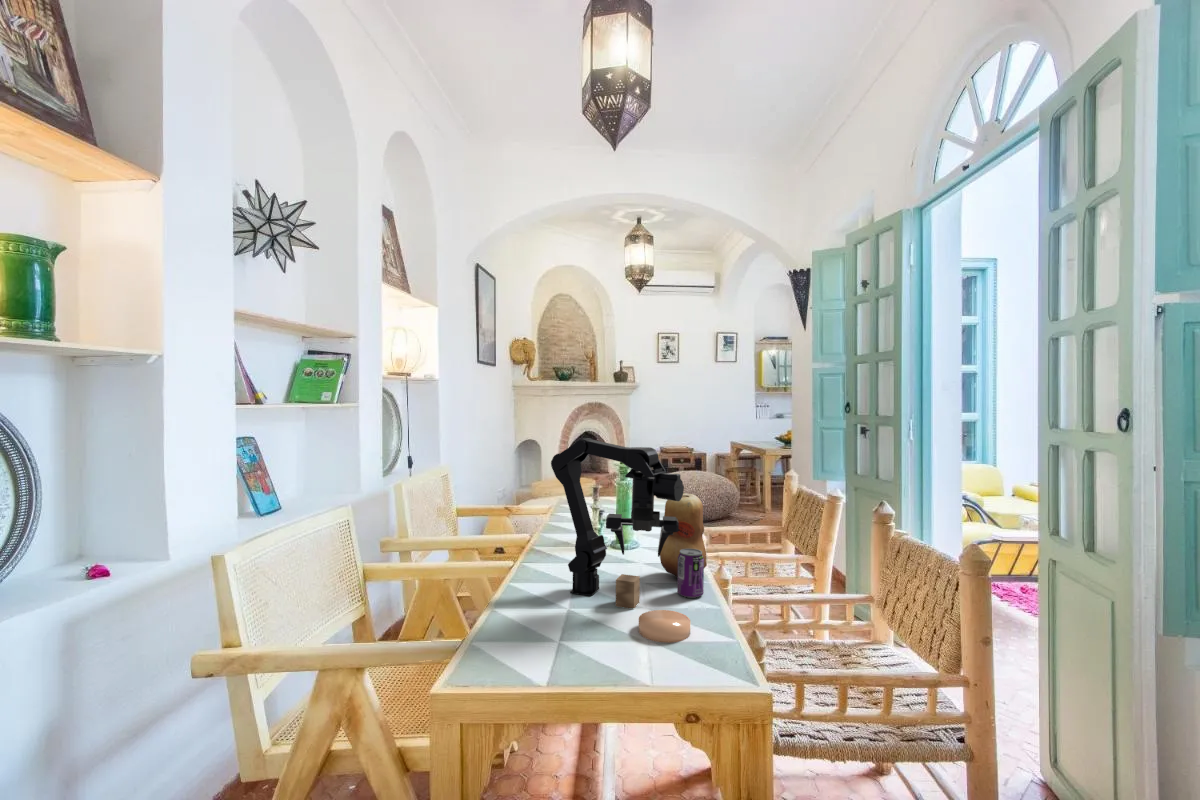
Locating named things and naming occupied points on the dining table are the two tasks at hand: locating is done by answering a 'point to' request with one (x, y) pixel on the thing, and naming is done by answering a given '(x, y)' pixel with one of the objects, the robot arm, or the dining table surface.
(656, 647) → the dining table surface
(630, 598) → the walnut block
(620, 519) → the robot arm
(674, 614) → the terracotta disc
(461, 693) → the dining table surface
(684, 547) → the butternut squash
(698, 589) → the beverage can
